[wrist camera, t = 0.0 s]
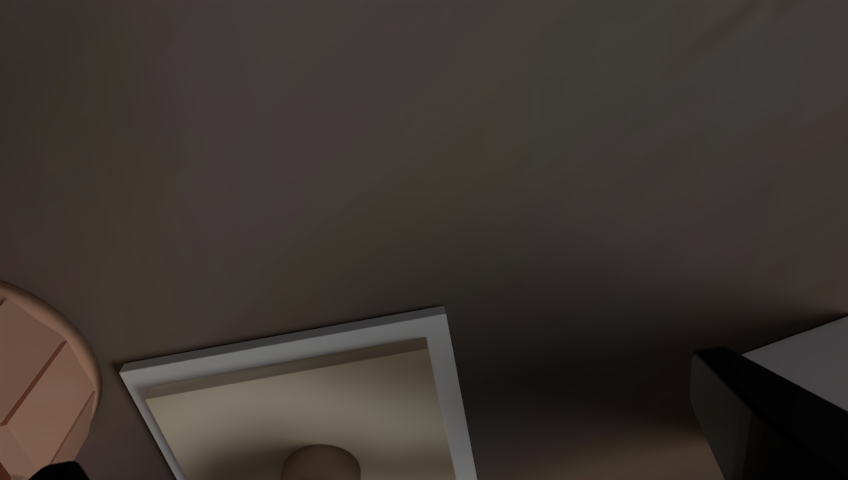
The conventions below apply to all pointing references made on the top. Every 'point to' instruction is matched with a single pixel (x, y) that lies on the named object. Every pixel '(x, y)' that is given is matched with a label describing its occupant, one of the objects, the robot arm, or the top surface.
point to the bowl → (42, 385)
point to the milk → (812, 360)
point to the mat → (308, 346)
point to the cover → (311, 419)
